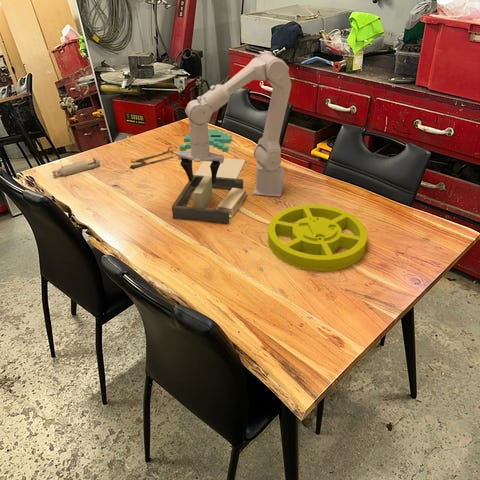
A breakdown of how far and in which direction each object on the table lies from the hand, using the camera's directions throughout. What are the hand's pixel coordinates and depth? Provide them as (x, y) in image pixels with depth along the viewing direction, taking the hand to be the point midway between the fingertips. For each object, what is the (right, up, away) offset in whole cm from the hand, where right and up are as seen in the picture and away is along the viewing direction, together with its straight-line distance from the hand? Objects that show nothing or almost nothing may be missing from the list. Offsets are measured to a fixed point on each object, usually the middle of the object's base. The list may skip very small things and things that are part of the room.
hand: (202, 181), depth 140 cm
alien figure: (-2, +23, +47) cm, 52 cm away
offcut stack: (+10, -8, +3) cm, 13 cm away
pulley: (+34, -20, -14) cm, 42 cm away
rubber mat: (+4, +7, +24) cm, 25 cm away
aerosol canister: (-50, +7, +26) cm, 57 cm away
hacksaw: (-23, +14, +35) cm, 44 cm away
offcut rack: (+2, -7, +4) cm, 8 cm away
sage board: (0, -7, +5) cm, 8 cm away
